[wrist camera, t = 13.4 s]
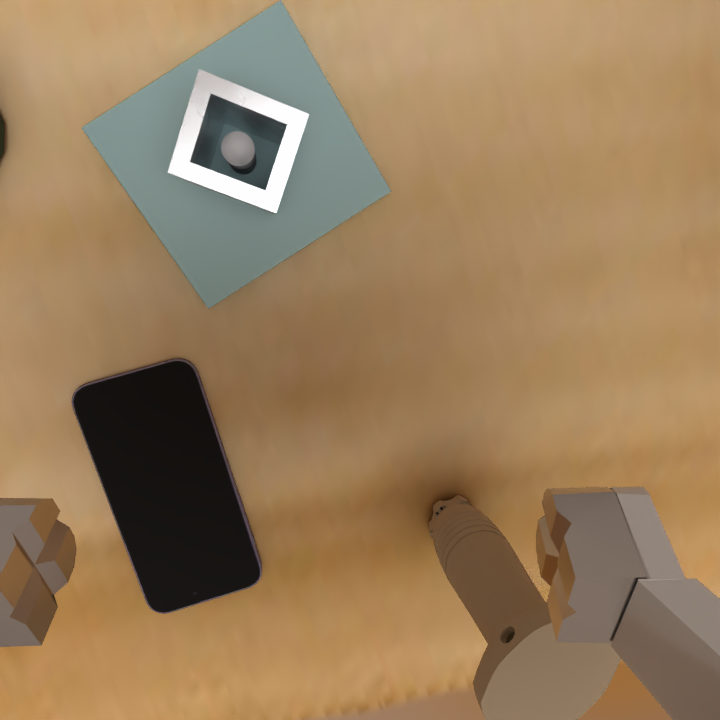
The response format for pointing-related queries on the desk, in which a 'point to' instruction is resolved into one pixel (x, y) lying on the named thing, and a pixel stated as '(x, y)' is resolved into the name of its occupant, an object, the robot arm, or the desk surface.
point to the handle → (514, 625)
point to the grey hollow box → (245, 112)
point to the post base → (240, 159)
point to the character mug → (1, 136)
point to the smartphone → (168, 484)
